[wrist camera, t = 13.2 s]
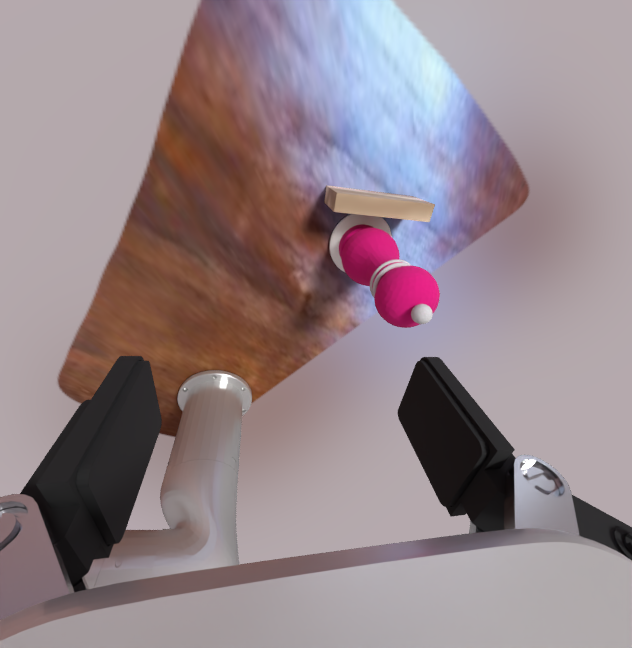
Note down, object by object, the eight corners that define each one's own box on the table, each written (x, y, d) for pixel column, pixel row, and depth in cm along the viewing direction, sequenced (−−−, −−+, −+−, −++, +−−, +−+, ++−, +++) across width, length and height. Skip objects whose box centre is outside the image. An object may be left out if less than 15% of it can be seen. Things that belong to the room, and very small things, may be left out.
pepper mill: (373, 274, 44) (442, 357, 27) (328, 265, 42) (373, 348, 25) (392, 226, 41) (483, 288, 24) (343, 214, 39) (406, 272, 22)
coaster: (381, 275, 45) (383, 276, 45) (325, 271, 43) (325, 273, 43) (397, 214, 40) (399, 215, 40) (334, 207, 39) (335, 208, 38)
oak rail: (408, 211, 40) (429, 221, 35) (324, 202, 38) (333, 211, 33) (412, 196, 39) (434, 204, 34) (326, 185, 37) (336, 192, 32)
